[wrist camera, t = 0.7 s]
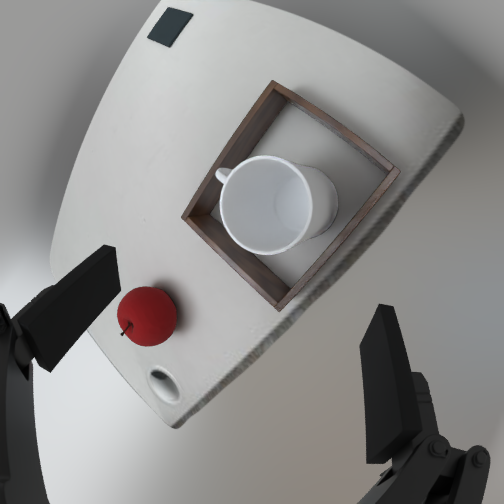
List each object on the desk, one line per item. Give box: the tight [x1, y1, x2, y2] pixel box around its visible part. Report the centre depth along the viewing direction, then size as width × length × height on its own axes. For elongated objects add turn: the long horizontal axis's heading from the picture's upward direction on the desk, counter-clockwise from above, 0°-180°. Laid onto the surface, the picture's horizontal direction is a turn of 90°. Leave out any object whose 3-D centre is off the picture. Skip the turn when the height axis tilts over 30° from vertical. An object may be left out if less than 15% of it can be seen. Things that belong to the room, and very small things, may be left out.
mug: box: [215, 155, 338, 255], centre depth 29 cm, size 12×8×12 cm
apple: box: [117, 287, 177, 346], centre depth 42 cm, size 9×9×10 cm
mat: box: [147, 7, 193, 47], centre depth 37 cm, size 7×7×1 cm
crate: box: [181, 80, 401, 312], centre depth 32 cm, size 16×20×5 cm
